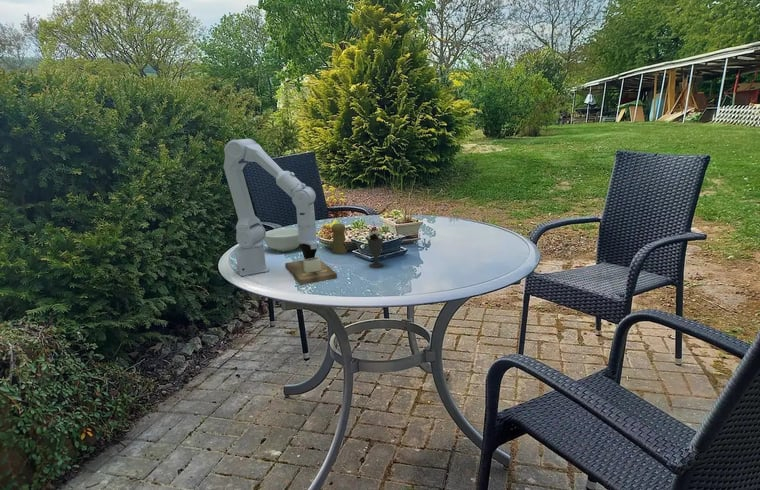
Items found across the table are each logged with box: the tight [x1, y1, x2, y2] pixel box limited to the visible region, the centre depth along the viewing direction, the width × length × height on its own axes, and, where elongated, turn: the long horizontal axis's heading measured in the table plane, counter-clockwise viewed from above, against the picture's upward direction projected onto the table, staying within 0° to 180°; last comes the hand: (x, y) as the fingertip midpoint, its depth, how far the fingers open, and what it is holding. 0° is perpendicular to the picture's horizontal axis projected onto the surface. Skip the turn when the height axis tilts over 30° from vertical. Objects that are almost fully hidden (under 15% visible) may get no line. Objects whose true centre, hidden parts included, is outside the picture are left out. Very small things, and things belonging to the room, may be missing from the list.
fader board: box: [284, 259, 338, 286], centre depth 150 cm, size 12×20×2 cm, turn 25°
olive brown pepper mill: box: [331, 223, 348, 255], centre depth 171 cm, size 6×6×11 cm
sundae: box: [364, 221, 386, 269], centre depth 152 cm, size 7×7×15 cm
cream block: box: [302, 256, 322, 273], centre depth 146 cm, size 5×3×4 cm, turn 115°
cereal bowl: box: [263, 227, 303, 252], centre depth 179 cm, size 17×17×7 cm
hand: (310, 265), depth 149 cm, fingers closed
